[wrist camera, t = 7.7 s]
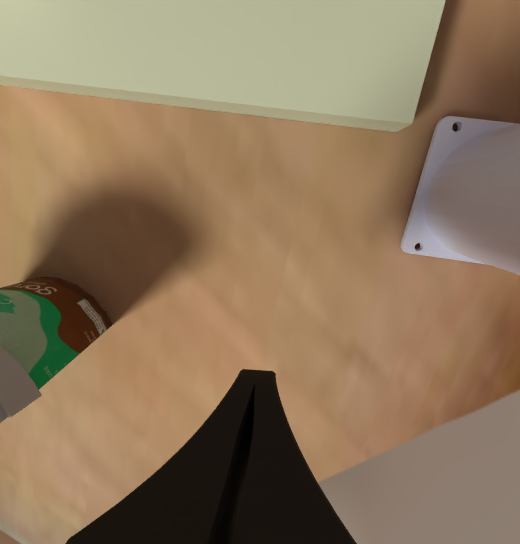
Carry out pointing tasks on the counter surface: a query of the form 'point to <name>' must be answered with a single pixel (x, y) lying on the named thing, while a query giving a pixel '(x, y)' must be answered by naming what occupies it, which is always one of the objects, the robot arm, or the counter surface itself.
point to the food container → (42, 336)
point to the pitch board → (230, 54)
